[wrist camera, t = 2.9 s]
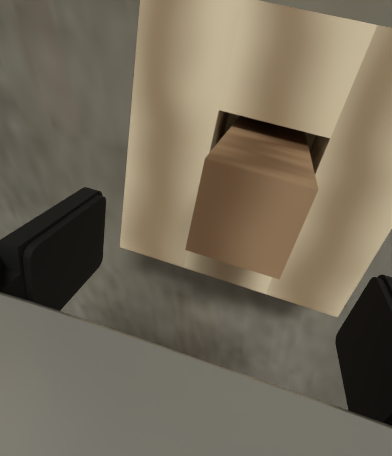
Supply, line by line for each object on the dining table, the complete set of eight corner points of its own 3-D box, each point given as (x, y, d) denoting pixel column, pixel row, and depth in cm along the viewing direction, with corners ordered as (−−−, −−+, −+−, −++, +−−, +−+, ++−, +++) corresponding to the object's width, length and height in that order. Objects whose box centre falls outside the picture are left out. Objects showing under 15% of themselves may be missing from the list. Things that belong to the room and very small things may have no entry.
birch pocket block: (440, 52, 18) (500, 50, 13) (327, 266, 26) (337, 317, 21) (179, -3, 20) (142, -24, 15) (150, 212, 28) (119, 247, 23)
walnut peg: (304, 130, 21) (318, 189, 12) (282, 190, 23) (279, 279, 14) (240, 114, 21) (204, 158, 12) (225, 173, 24) (185, 249, 14)
